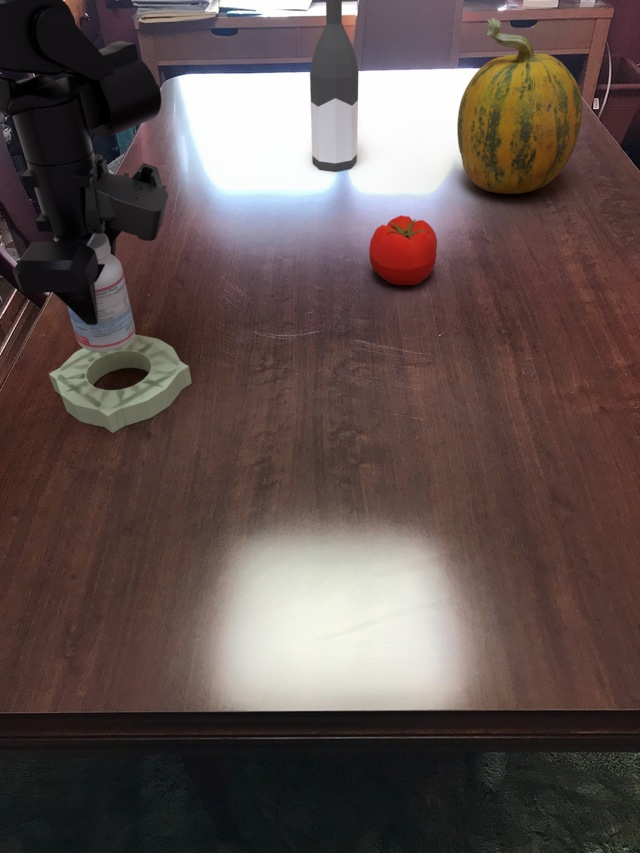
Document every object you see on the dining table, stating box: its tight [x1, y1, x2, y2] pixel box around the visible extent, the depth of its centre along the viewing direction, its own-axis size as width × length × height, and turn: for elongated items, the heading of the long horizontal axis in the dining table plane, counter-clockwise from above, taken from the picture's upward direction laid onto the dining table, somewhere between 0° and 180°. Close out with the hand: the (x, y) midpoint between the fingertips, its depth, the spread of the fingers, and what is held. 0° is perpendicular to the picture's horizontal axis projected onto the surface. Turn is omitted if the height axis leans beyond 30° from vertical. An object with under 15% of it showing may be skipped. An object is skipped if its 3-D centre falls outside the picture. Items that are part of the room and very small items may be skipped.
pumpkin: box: [456, 17, 583, 195], centre depth 108 cm, size 19×19×25 cm
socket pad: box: [48, 333, 193, 434], centre depth 78 cm, size 13×13×2 cm
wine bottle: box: [309, 0, 360, 173], centre depth 114 cm, size 8×8×30 cm
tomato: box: [368, 215, 438, 286], centre depth 93 cm, size 9×9×8 cm
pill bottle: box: [66, 233, 136, 352], centre depth 69 cm, size 6×6×11 cm
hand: (100, 306), depth 71 cm, fingers closed on pill bottle, 6 cm apart
